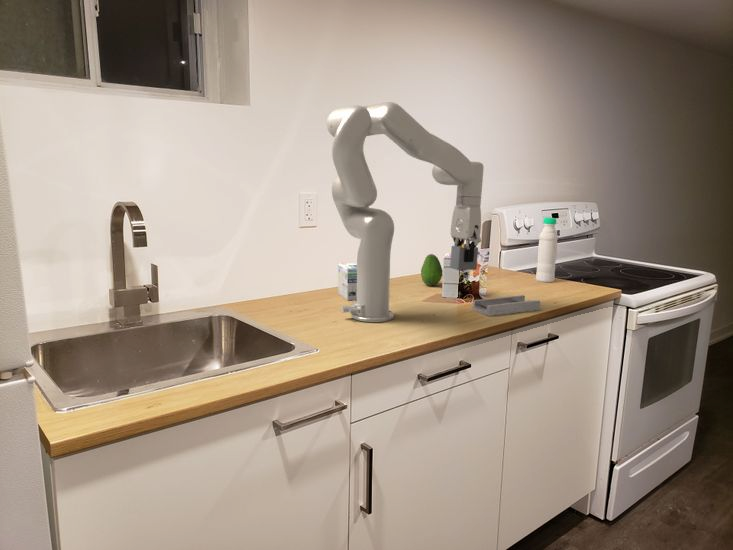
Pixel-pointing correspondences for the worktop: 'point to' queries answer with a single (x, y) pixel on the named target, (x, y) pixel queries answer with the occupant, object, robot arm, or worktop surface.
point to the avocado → (431, 270)
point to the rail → (505, 305)
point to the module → (462, 258)
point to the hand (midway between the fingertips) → (463, 260)
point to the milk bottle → (547, 251)
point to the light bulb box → (347, 280)
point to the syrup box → (449, 279)
